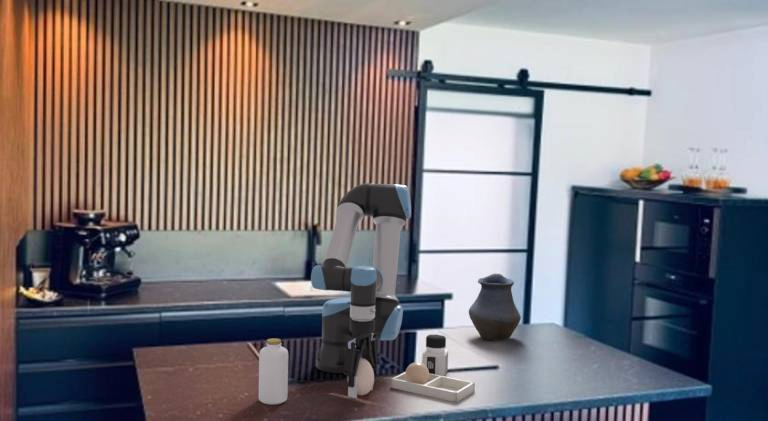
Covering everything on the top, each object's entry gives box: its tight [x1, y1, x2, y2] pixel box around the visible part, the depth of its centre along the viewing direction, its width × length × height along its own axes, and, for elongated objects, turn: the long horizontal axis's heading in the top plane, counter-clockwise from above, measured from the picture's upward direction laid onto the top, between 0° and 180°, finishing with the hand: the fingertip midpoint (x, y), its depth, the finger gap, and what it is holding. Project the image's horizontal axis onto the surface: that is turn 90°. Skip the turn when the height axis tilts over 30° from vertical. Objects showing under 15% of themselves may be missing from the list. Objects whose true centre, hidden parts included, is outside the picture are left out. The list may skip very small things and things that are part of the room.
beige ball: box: [405, 361, 429, 385], centre depth 228 cm, size 7×7×7 cm
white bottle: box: [258, 338, 289, 406], centre depth 213 cm, size 8×8×18 cm
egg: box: [356, 357, 375, 396], centre depth 220 cm, size 8×8×11 cm
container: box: [421, 333, 449, 377], centre depth 244 cm, size 8×8×13 cm
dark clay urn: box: [468, 273, 522, 341], centre depth 293 cm, size 21×22×25 cm
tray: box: [390, 371, 476, 403], centre depth 225 cm, size 23×12×4 cm, turn 59°
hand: (360, 393), depth 220 cm, fingers closed on egg, 8 cm apart
